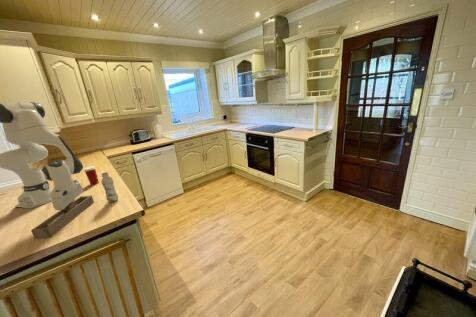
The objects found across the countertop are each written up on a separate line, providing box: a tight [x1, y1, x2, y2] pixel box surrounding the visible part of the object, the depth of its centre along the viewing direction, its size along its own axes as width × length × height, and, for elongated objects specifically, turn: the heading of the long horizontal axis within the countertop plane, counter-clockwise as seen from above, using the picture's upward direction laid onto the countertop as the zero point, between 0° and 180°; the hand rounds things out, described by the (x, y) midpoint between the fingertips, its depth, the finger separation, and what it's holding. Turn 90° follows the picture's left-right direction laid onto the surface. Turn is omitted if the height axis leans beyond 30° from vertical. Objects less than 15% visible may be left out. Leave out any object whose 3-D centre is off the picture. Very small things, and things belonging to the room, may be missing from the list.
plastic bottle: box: [100, 172, 119, 203], centre depth 131 cm, size 6×7×20 cm
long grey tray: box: [30, 195, 95, 240], centre depth 118 cm, size 8×34×5 cm, turn 0°
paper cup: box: [83, 165, 100, 186], centre depth 164 cm, size 8×8×14 cm
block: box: [63, 202, 76, 214], centre depth 120 cm, size 4×4×4 cm
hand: (73, 206), depth 123 cm, fingers closed, pressing on block
